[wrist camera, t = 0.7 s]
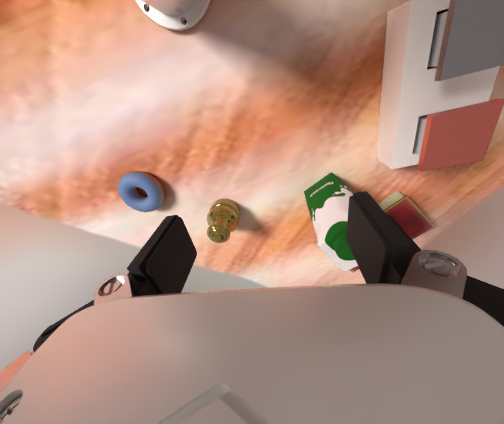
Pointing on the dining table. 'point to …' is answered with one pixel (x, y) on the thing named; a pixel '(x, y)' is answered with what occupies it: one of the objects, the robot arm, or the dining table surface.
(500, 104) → the red square push button
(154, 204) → the doughnut
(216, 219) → the gold rounded piece
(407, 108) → the white button box
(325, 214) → the milk carton
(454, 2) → the grey square push button
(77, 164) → the dining table surface
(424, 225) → the hardcover book
